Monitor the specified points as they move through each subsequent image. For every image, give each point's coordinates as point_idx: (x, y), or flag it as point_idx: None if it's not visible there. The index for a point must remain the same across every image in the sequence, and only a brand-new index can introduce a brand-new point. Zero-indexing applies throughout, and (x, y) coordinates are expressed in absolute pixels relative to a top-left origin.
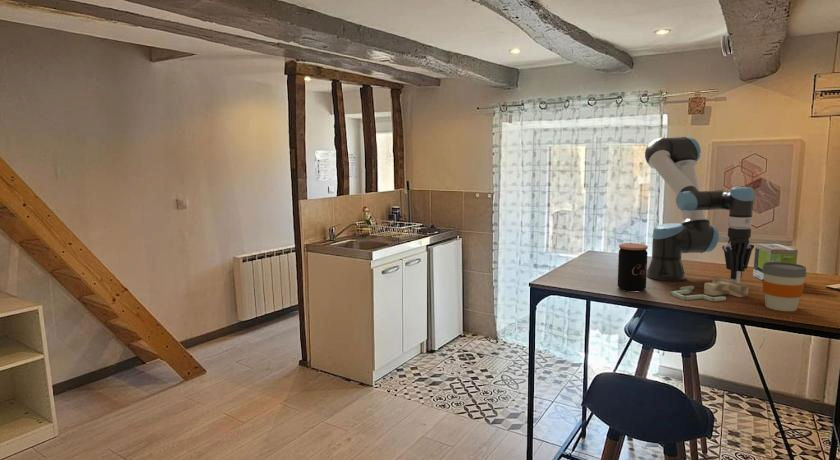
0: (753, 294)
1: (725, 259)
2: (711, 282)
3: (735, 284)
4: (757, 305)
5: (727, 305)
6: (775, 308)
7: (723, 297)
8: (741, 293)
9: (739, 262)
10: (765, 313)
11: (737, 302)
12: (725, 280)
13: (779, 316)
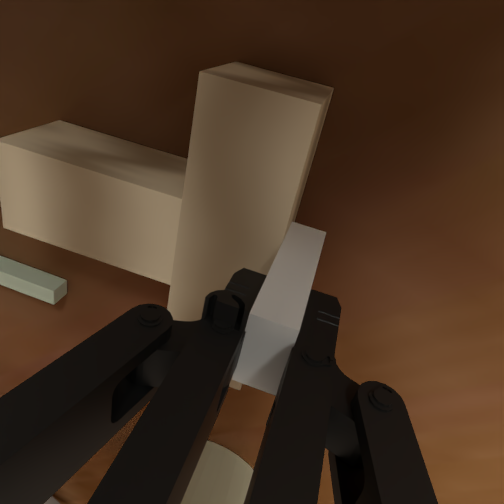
0: (340, 342)
1: (6, 397)
2: (64, 165)
3: (192, 318)
4: (137, 415)
5: (8, 334)
6: None
7: (37, 297)
8: None
9: (253, 477)
10: None
11: None
12: (249, 201)
13: (87, 490)
